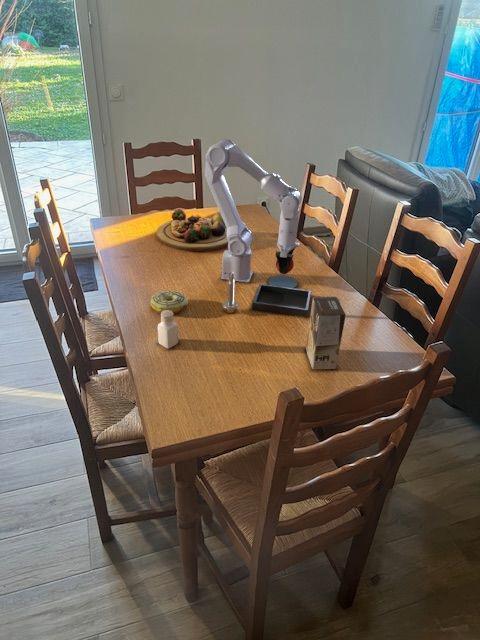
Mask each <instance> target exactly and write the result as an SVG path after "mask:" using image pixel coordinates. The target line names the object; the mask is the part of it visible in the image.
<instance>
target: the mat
mask: <svg viewBox="0 0 480 640" xmlns="http://www.w3.org/2000/svg"><path fill="white" fill-rule="evenodd" d="M267 283H268V284H267V285H272V286H280V287H287V288H295V289H297V287H298V282H297V280H296V279H294V278H292V277H290V276H286V275H276V276H275V275H274V276H272V277H270V278H269V279H268V282H267Z"/></svg>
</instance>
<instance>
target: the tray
mask: <svg viewBox="0 0 480 640" xmlns="http://www.w3.org/2000/svg"><path fill="white" fill-rule="evenodd" d="M311 295H312V290H309V289H301V288H287V287H280V286H272V285H269V284H265V283H259V284H258V287H257V290H256V292H255V295H254V298H253V300H252V307H251V310H255V311H261V312H267V313H274V314H281V315H288V316H295V317H303V318H308V313H309V307H310V302H311Z"/></svg>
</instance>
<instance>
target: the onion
mask: <svg viewBox="0 0 480 640" xmlns="http://www.w3.org/2000/svg"><path fill="white" fill-rule="evenodd" d="M294 266H295V262H294V259H293V258H292V259H291V261H290V263H289V266H288V270H287V273H286V274H288V273H290V272H291V271H292V270H293V269H294ZM275 267H276V270H277V271H278V272H279V264H278V260H277V259H276V262H275ZM281 274H282V275H285V274H284V273H281Z"/></svg>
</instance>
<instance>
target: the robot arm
mask: <svg viewBox="0 0 480 640" xmlns="http://www.w3.org/2000/svg"><path fill="white" fill-rule="evenodd" d="M204 159H205V165H204V178H205V180H206V183H207V184H208V187H209V190H210V191H211V194H212V196H213V199H214V201H215V205H216V206H217V208H218V212H219V214H221V216H222V218H223V221H224V223H225V225H226V228H227V240H228V246H227V248H228V249H225V250H224V251H223V254H222V260H221V277H220V278H221V280H226V281H228V280H229V273H230V272H233V273H234V278H233V279H234V282H240V283H247V284H249V283H250V281H251V279H252V276H253V274H254V271H252V270H251V269H252V268H251V267H252V252H253V251H252V249H251V245H253V243H254V240H255V238H254V237H255V236H254V234H253V233H252V231H251V230H250V229H249V228H248V226H247V224H246V223H245V222H244V221H242V219H241V216H240V214H239V211H238V209H237V207H236V204H235V201H234V199H233V197H232V194H231V191H230V189H229V186H228V184H227V182H226V179H225V176H224V174H225V171H226V169H227V167H228V168H240V169H241V170H242V171H244V172H245V173H246V174H248V175H250V177H252V178H253V179H254V180H256V181H257V182H259V184H260V189H261V190H262V191H263V193H266V195H268V196H269V197H270V198H272V199H273V200H274V201H275V202H276V203H278V205H279V208H280V211H281V212H280V216H279V227H278V236H277V238H278V239H277V241H276V246H277V247H278V249H279V251H275V255H274V256H275V258H276V261H277V260H278V264H279V271H278V273H279V274H282V273H284V274H283V275H286V274H288V273H287V270H288V266H289V263H290V261H291V259H293V258H294V255H295V254H293V253H294V251H295V249H296V248H300V242H297V238H298V237H297V236H298V228H299V219H300V205H301V203H302V200H303V197H302V193H301V192H300V191H299V190H298V189H297V188H294V187H292V186H291V185H290V186H289V185H288V184H287V183H286V182H284V181H283V180H282V179H281V176H280V175H279V173H278V174H275V173H273V172H272V173H268V172H266V171H265V170H264V169H263V168H262V167H261V166H260V165H259V164H257V163H256V162H255V160H253V158H252V157H250V156H249V155H248V154H247V153H245V151H244V150H243V149H242V148H241V147H240V146H239V145H237V144H235V143H234V142H233V141H232V140H231V139H227V138H223V139H220V140H219V141H218V142H216V143H215V144H212V145H211V146H210V147H209V148H208V150H207V152H206V154H205V156H204Z"/></svg>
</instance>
